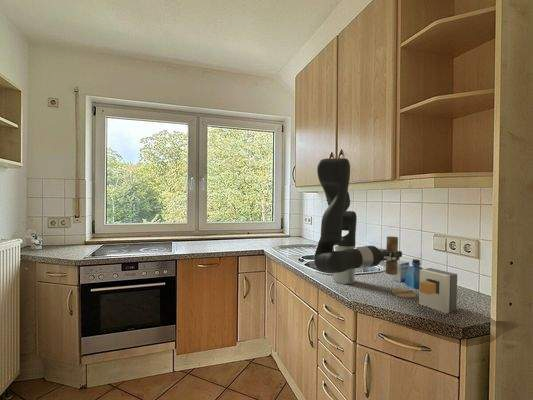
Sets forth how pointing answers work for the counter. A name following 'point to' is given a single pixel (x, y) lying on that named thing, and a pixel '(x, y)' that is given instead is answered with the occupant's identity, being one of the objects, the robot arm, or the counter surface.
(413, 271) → the perfume bottle
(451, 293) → the box
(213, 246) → the counter surface
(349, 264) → the robot arm
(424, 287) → the button
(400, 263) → the medicine box
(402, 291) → the stand
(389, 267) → the brown wooden cylinder
